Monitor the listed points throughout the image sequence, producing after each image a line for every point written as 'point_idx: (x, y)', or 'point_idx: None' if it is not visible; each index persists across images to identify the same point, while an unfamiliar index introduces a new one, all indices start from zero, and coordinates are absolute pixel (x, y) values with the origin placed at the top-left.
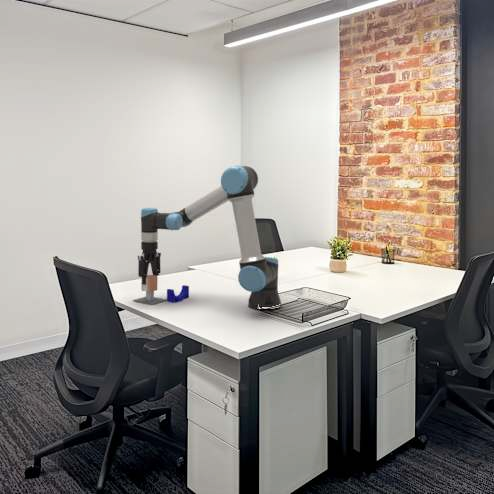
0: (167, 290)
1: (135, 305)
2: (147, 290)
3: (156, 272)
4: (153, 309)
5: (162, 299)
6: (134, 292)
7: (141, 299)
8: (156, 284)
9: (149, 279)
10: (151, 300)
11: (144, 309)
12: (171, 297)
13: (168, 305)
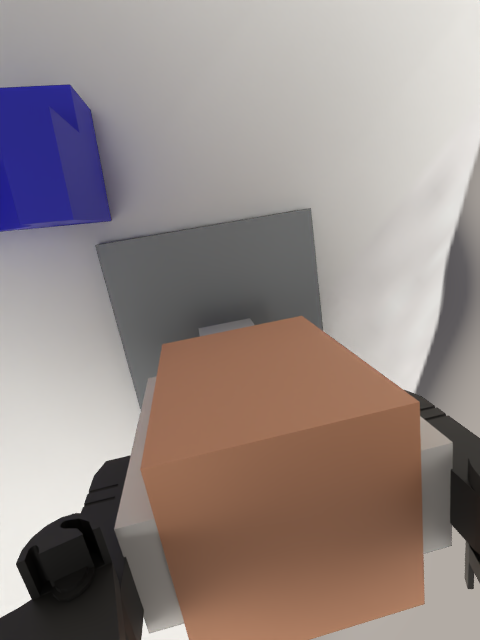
0: (75, 209)
1: (401, 304)
2: None
3: (89, 627)
4: (402, 70)
5: (130, 276)
6: (146, 629)
7: None
8: (178, 371)
9: (393, 394)
10: (235, 317)
11: (447, 138)
12: (84, 137)
13: (202, 72)
